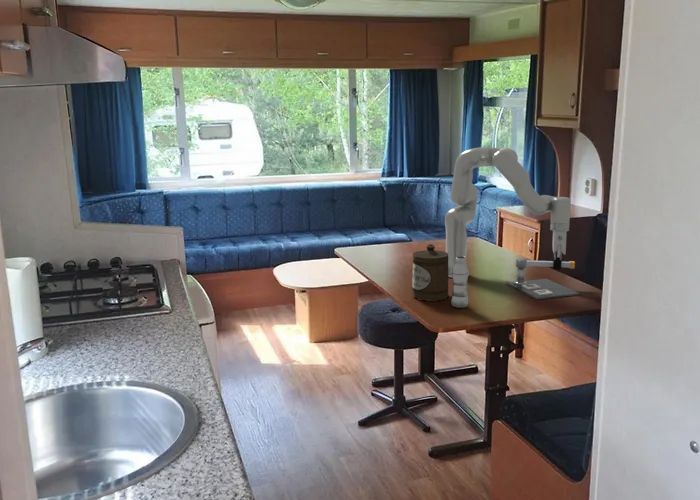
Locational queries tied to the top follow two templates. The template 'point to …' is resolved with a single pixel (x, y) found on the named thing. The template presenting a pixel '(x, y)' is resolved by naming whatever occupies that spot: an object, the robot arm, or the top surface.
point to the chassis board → (544, 284)
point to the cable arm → (542, 263)
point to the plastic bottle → (459, 283)
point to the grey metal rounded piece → (520, 277)
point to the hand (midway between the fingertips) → (557, 268)
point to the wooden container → (430, 274)
